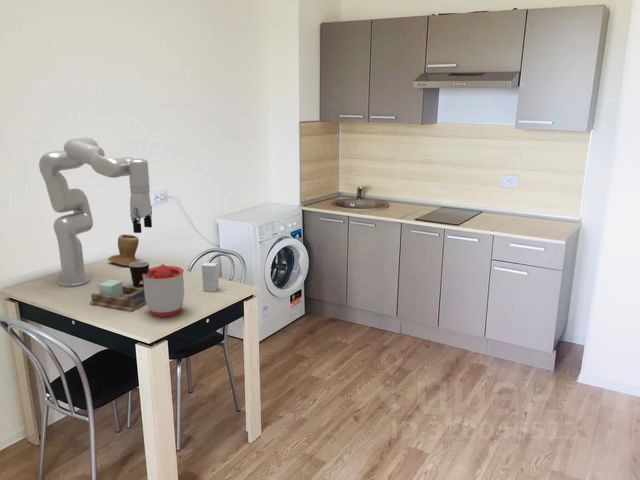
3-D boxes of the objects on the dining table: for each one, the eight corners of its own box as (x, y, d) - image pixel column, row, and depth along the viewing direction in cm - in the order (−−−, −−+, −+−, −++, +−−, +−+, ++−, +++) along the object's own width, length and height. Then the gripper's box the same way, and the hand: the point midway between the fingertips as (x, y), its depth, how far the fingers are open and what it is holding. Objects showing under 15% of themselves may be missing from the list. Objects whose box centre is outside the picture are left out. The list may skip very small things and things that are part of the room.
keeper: (100, 298, 224) (99, 284, 223) (112, 292, 230) (110, 279, 229) (112, 300, 222) (110, 286, 221) (123, 294, 228) (122, 281, 227)
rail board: (89, 304, 221) (88, 290, 219) (116, 292, 235) (115, 278, 234) (131, 312, 214) (130, 297, 212) (156, 298, 228) (155, 284, 227)
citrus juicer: (150, 303, 223) (147, 257, 218) (191, 305, 221) (188, 259, 216) (134, 318, 208) (130, 269, 203) (177, 320, 206) (174, 271, 201)
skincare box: (218, 288, 241) (217, 263, 238) (215, 291, 237) (214, 266, 234) (205, 287, 242) (204, 262, 239) (202, 291, 238) (201, 265, 235)
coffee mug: (144, 289, 240) (142, 267, 237) (127, 287, 241) (125, 266, 239) (157, 280, 251) (155, 260, 248) (140, 279, 252) (138, 258, 250)
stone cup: (145, 263, 277) (142, 235, 273) (124, 268, 267) (122, 239, 263) (127, 258, 285) (125, 230, 281) (107, 263, 276) (104, 235, 272)
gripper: (141, 185, 229) (143, 224, 233) (121, 192, 212) (124, 234, 216) (157, 186, 228) (160, 225, 232) (138, 193, 211) (142, 235, 215)
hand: (143, 229), depth 224 cm, fingers open, 9 cm apart
